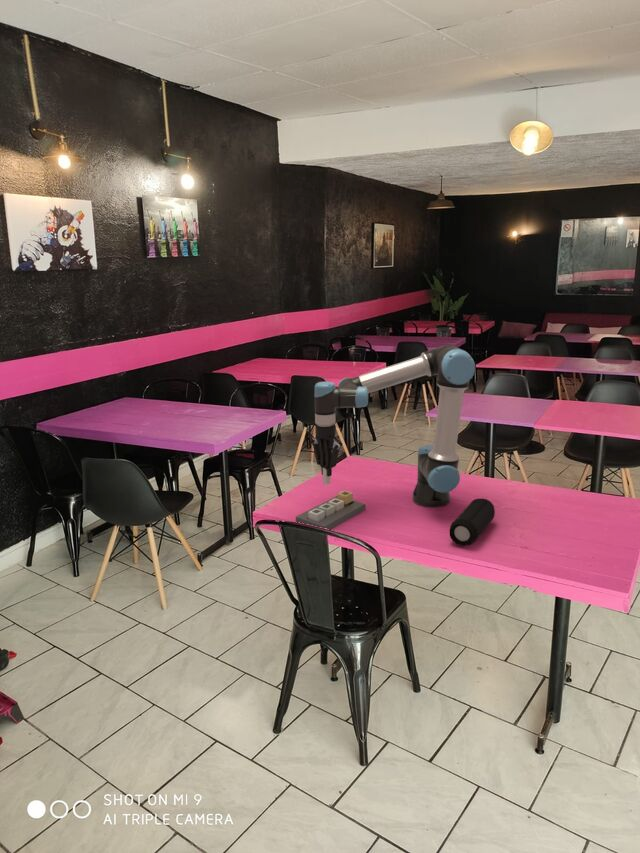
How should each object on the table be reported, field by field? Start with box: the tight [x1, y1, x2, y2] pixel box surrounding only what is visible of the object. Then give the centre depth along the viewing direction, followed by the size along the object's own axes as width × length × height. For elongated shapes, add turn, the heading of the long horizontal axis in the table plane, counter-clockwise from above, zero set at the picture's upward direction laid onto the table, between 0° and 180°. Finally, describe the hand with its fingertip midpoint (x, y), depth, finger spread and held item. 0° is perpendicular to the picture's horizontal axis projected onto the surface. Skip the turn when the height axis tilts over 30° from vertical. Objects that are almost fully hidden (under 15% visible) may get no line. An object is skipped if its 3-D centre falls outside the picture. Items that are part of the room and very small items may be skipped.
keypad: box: [295, 495, 366, 530], centre depth 243 cm, size 14×26×2 cm, turn 141°
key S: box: [336, 490, 354, 504], centre depth 248 cm, size 4×4×4 cm
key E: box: [308, 508, 325, 522], centre depth 236 cm, size 4×4×4 cm
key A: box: [318, 503, 335, 517], centre depth 240 cm, size 4×4×4 cm
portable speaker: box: [449, 498, 496, 547], centre depth 225 cm, size 26×10×10 cm, turn 148°
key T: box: [328, 498, 344, 511], centre depth 244 cm, size 4×4×4 cm
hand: (326, 483), depth 237 cm, fingers closed
